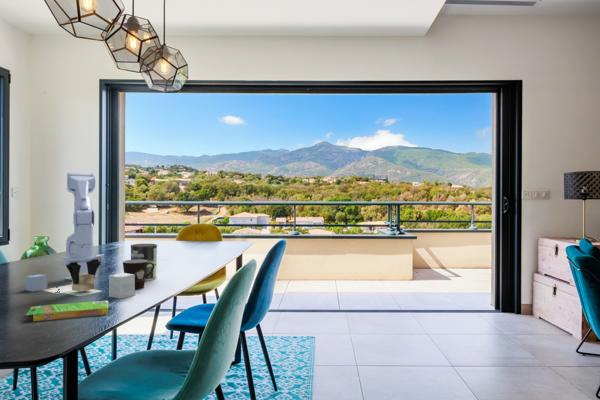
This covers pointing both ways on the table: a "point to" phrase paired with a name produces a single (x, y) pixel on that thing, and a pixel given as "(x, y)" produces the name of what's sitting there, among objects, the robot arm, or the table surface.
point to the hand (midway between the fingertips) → (83, 282)
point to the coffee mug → (137, 271)
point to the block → (84, 283)
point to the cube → (35, 282)
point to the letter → (62, 289)
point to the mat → (83, 292)
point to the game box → (68, 310)
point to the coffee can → (146, 257)
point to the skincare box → (121, 285)
